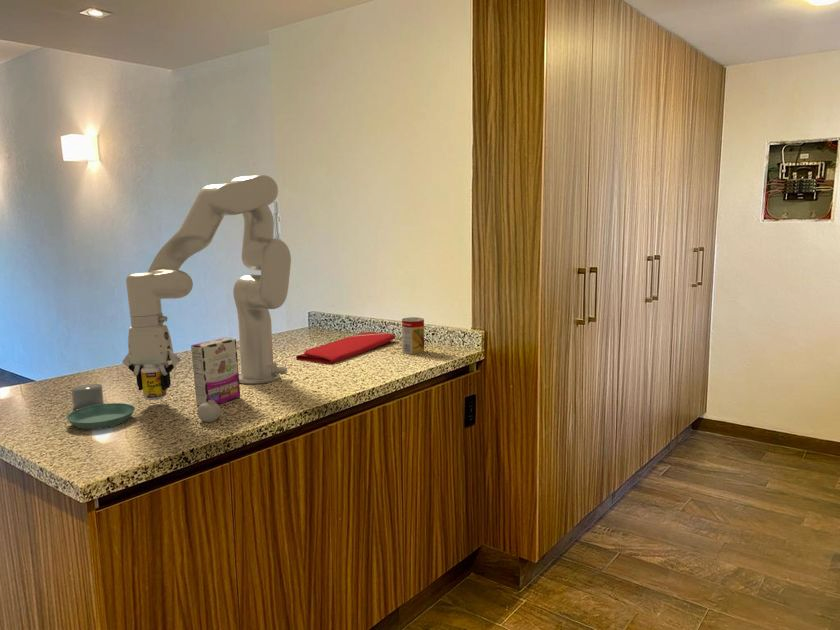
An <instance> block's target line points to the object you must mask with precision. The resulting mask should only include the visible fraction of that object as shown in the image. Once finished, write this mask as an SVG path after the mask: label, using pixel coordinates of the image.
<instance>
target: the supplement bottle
mask: <svg viewBox="0 0 840 630" xmlns="http://www.w3.org/2000/svg"><path fill="white" fill-rule="evenodd" d="M161 375H162V372H161V370H160V368H159V366H158V365H151V364H145V365H144V367H143V368H142V369H141V377H142V386H143V390H142V391H143V392H142V393H143V398H144V399H145V400H148V401H156V400H161V399H163V398H166V396H167V389H166V390H162V386H161V377H160V376H161Z"/></svg>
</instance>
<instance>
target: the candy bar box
mask: <svg viewBox="0 0 840 630" xmlns="http://www.w3.org/2000/svg"><path fill="white" fill-rule="evenodd" d="M190 348H191V359H192V360H191V361H192V369H193V381H194V391H195V392H194V393H195V403H196V406H197V407H199V406H200V405H201V404H203V403H206V402H208V401H209V400H213V401H215V403H217V404H218V405H219V406H220V405H221V404H224V402H225V403H227V402H230V401H233V400H236V399H238V398H240V397H241V388H240V382H239V374H240V373H239V363H238V362H239V361H238V350H237V349H238V348H237V339H236V338H231V337H221V338H217V339H211V340H208V341H205V342H200V343H196V344H191V345H190Z"/></svg>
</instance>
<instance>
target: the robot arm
mask: <svg viewBox="0 0 840 630" xmlns="http://www.w3.org/2000/svg"><path fill="white" fill-rule="evenodd" d="M278 196H279V188H278V184H277V182H276V181H275V179H273V178H272V177H271V176H269V175H266V174H257V175H256V174H255V175H241V176H237V177H234V178H233V179H231V180H230V182H229V183H216V184H214V183H213V184H208V185H205V186H203V187H202V188H201V190H200V191H199V192H198V194H197V196H196V197H195V199H194V202H193V203H192V205H191V207H190V209H189V211H188V213H187V215H186V217H185V219H184V221H183V223H182V224H181V226H180V228H179V230H177V232H175V233H174V235H173V236H171V238H170V239H168V241H167V242H166V243H165V244H164V245H163V246H162V247H161V248H160V249H159V251H158V252H157V254H156V255H155V257H154V259H153V260H152V262H151V264H150V266H149V268H148V270H147V272H136V273H131V274H129V275H127V277H126V279H125V284H126V292H127V300H128V309H129V310H128V311H129V318H130V326H129V330H128V338H127V339H128V340H127V347H128V348H127V349H128V352H127V355H125V357H124V359H122V364H123V365H125V366H126V367H127V368H128V369H129V370H130V371H131V372H132V373H133V375H134V376H135V378H136V387H138V391H143V386H142V377H141V369H142V368H143V367H144V365H145V364H151V365H158V366H159V368H160V370H161V372H162V375H161V376H160V377H161V386H162V390H166V391H167V390H168V388H170V387H171V384H172V383H171V382H172V381H171V374H170V373H172V371H173V370H174V369H175V368H176V366H177V365H179V363H180V362H181V358H179V356H177V354H175V352H174V349H173V343H172V338H171V334H170V331H169V328H168V326H167V324H165V322H167V321H168V316H165V315H163V314H164V313H163V309H162V303H161V302H162V301H161V300H164V299H167V300H168V299H171V300H172V299H173V300H174V299H182V298H184V297H186V296H188V295H189V294H190V293H191V291H192V289H193V287H194V282H193V279H192V276H190V275H189V274H188V273H187V272H185V271H183V270H180V269H181V267H182V265H183V264H184V263H185V262H186V261H187V260H188V259H189V258H190V257H192V256H193V255H195V254H197V253H200V252H201V251H203V250H204V249H206V248H208V247H209V246H210V244H211V243H212V241H213V239H214V237H215V235H216V233H217V230H218V228H219V227H220V225H221V223H222V221H223V219H224V217H225V216H236V215H241V214H242V217H243V221H244V223H243V225H244V226H243V237H242V246H241V261H242V264H243V265H244V266H245V267H246V268H247V269H250V270H253V271H260V274H254V273H253V274H245V275H242V276H240V277H238V279H237V280H236V281H235V283H234V286H233V291H232V292H233V293H232V294H233V299H234V304H235V307H236V312H237V318H238V319H237V321H238V338H239V353H240V355H239V356H240V372H241V373H239V384H249V385H250V384H251V385H253V384H254V385H257V384H265V383H271V382H273V381H276V380H278V379H279V378H280V374H281V375H287V373H288V368H287V367H286V366H278V365H277V362H276V361H274V354H273V353H274V352H273V349H274V348H273V330H272V317H271V313H270V311H269V310H276V309H279V308H281V307H282V306H283V305H284V303H285V301H287V297H288V293H289V286H290V285H289V283H290V274H291V267H292V265H291V264H292V255H291V251H290V249H289V246H288V245H287V244H286V242H284V241H283V240H281V239H279V238H274V231H275V230H274V229H275V220H274V216H273V212H272V210H271V209H270V206H271V204H273V203H274V202H275V201H276V199H277V197H278ZM269 205H270V206H269ZM169 361H171V363H169Z"/></svg>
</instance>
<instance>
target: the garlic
mask: <svg viewBox="0 0 840 630" xmlns="http://www.w3.org/2000/svg"><path fill="white" fill-rule="evenodd" d="M196 411H197V412H196V415H197V418H198V419H199V420H201V421H203V422H205V423H212V422H214V421H216V420H217V419H218V418H219V417H220V416H221V411H222V410H221V407H220V404H219V405H218V404H217V403H215V401H213V400H209V401H208V402H206V403H203V404H201V405H200V406H197V410H196Z"/></svg>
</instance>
